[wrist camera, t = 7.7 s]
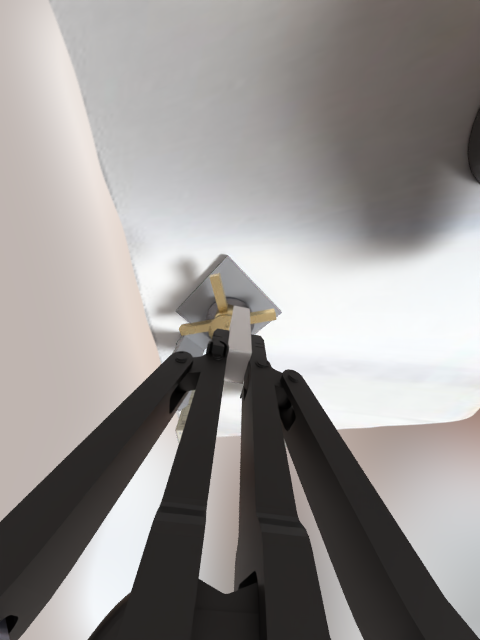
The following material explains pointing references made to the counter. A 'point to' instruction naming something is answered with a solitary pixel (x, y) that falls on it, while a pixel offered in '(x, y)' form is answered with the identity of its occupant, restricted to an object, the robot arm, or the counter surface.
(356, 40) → the counter surface
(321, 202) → the counter surface
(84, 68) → the counter surface
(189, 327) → the capstan
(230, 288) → the stand
